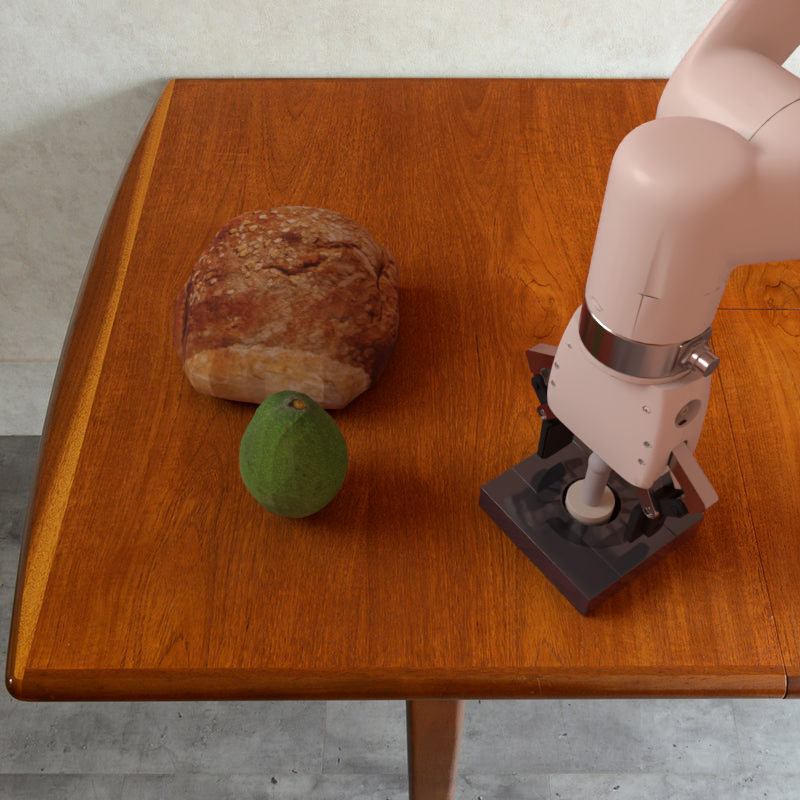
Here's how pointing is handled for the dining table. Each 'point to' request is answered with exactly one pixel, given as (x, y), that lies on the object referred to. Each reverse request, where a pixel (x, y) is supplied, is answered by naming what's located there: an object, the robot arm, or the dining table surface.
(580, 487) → the stopper
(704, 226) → the robot arm
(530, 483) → the sink plate
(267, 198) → the dining table surface
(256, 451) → the fruit
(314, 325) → the bread
